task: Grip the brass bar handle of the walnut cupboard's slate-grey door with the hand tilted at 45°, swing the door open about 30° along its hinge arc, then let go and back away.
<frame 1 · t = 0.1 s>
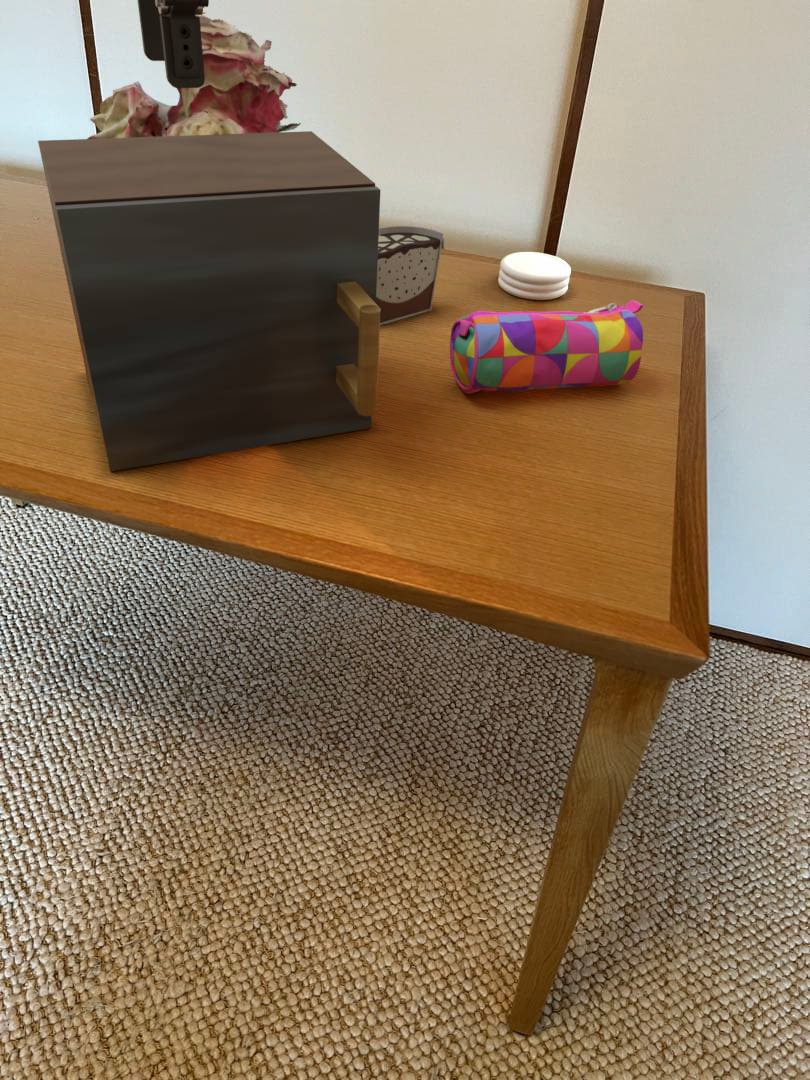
hand: (173, 72, 53), 34 cm above the table, tool pointing down, fingers open, 8 cm apart
food container: (389, 311, 108), on the table
rose bouquet: (215, 260, 118), on the table
cupboard: (223, 400, 87), on the table
door: (247, 351, 70), point 12 cm above the table, hinge at 0.0°
pencil case: (540, 384, 95), on the table
white stacked discs: (532, 288, 117), on the table
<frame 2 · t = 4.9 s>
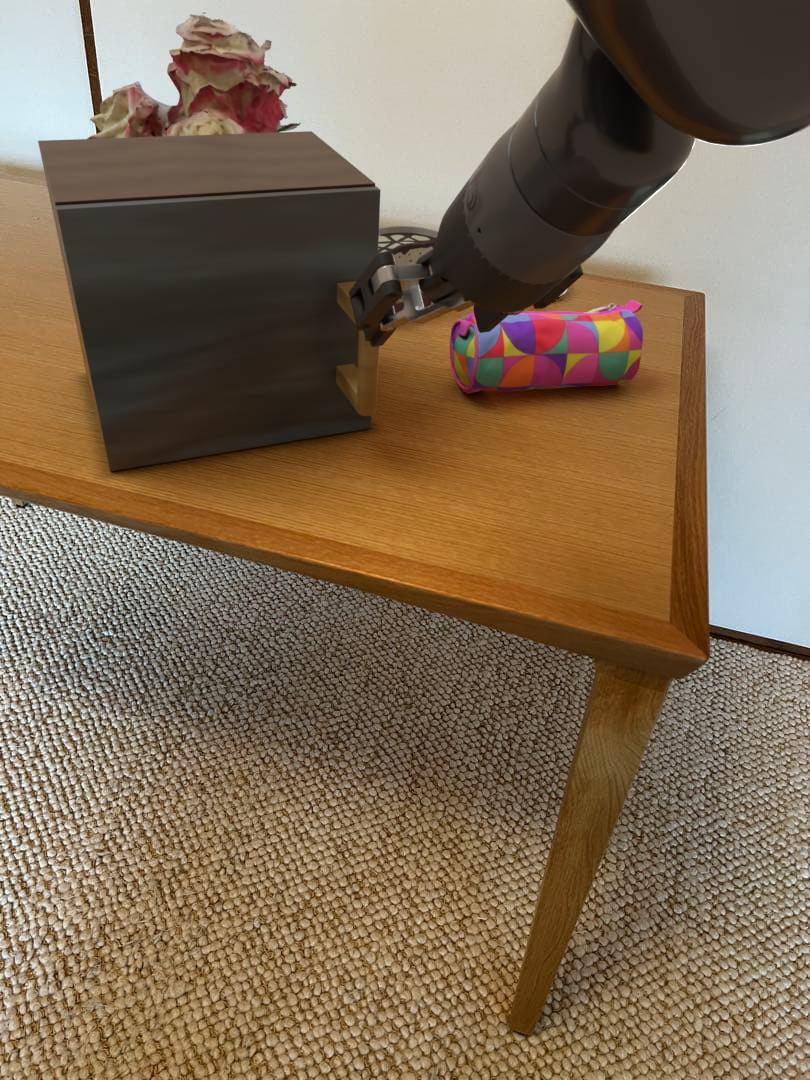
hand: (427, 326, 59), 20 cm above the table, tool tilted 45°, fingers open, 8 cm apart
nothing on the table moved.
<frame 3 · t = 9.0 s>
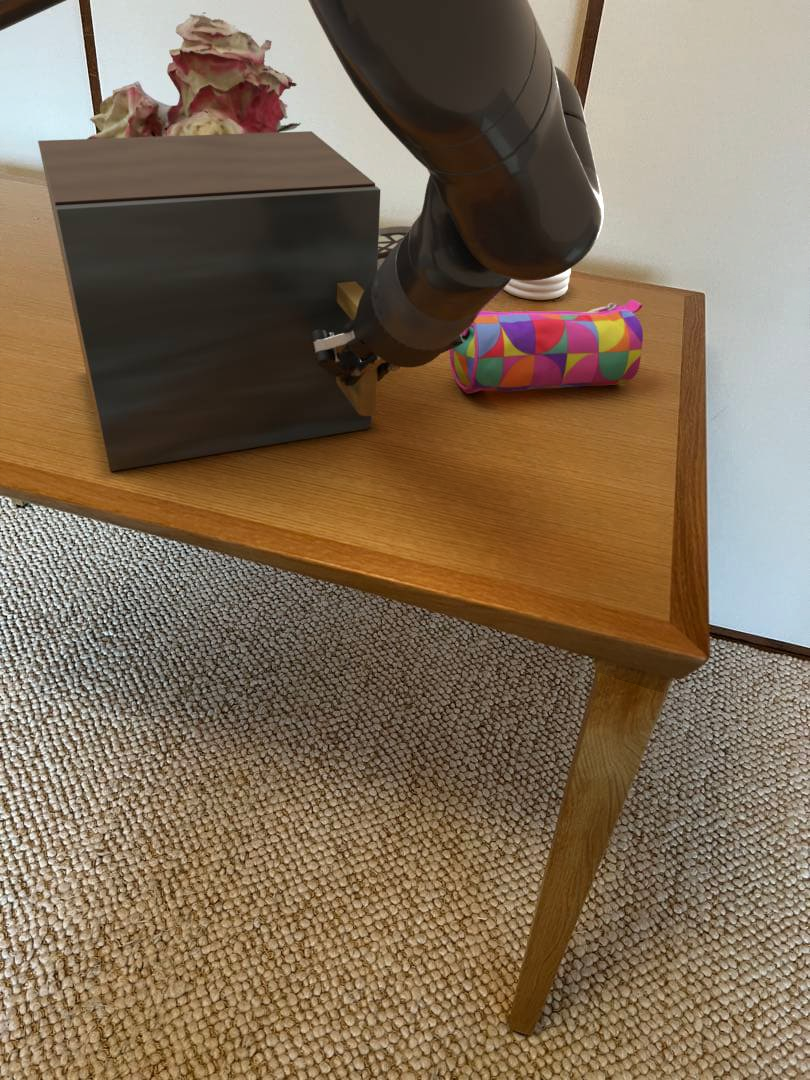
hand: (359, 373, 75), 9 cm above the table, tool tilted 45°, fingers closed on door, 2 cm apart
door: (247, 351, 70), point 12 cm above the table, hinge at 0.0°, touching gripper
everything else where it was.
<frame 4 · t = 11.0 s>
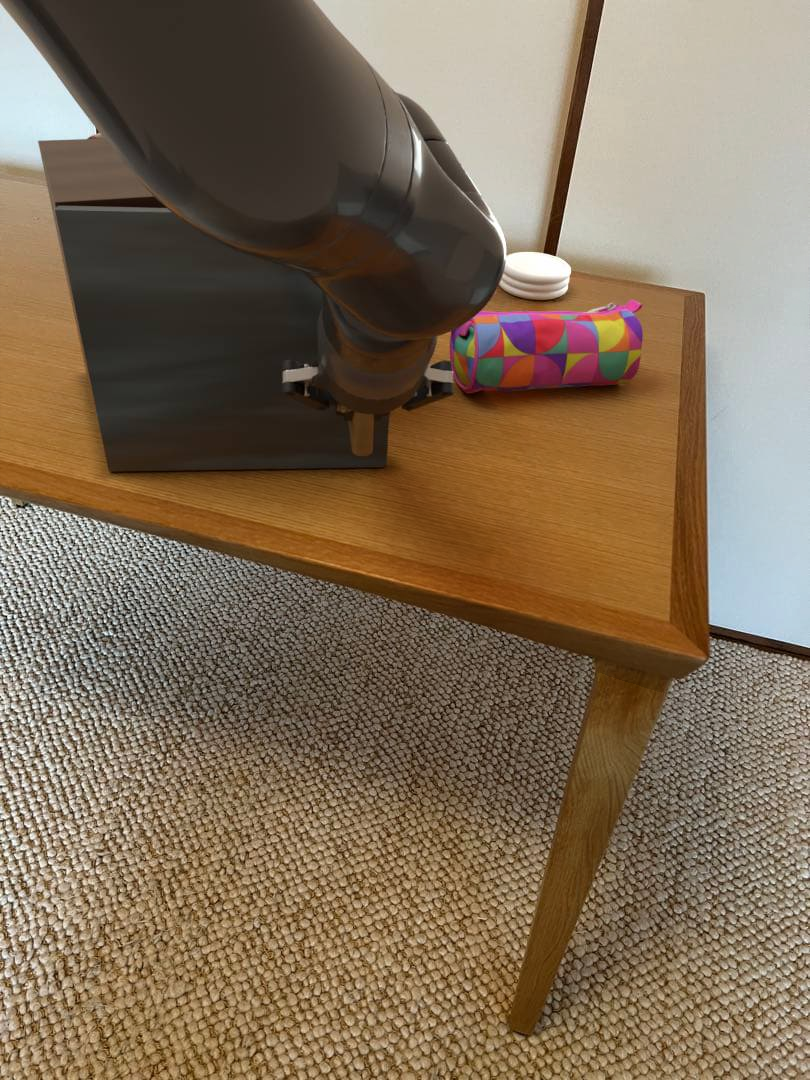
hand: (362, 409, 70), 9 cm above the table, tool tilted 45°, fingers closed on door, 2 cm apart
door: (241, 371, 67), point 12 cm above the table, hinge at 16.0°, touching gripper
everything else where it was.
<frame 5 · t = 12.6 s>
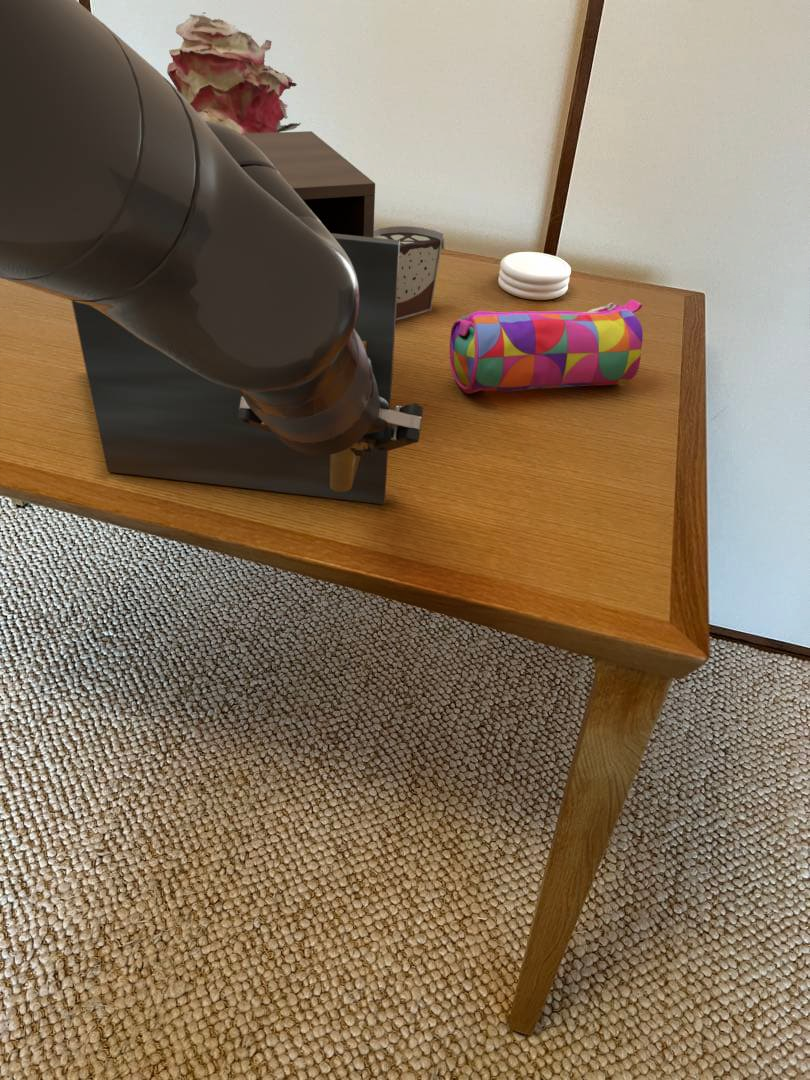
hand: (346, 441, 66), 9 cm above the table, tool tilted 45°, fingers closed on door, 2 cm apart
door: (225, 389, 65), point 12 cm above the table, hinge at 29.4°, touching gripper
everything else where it was.
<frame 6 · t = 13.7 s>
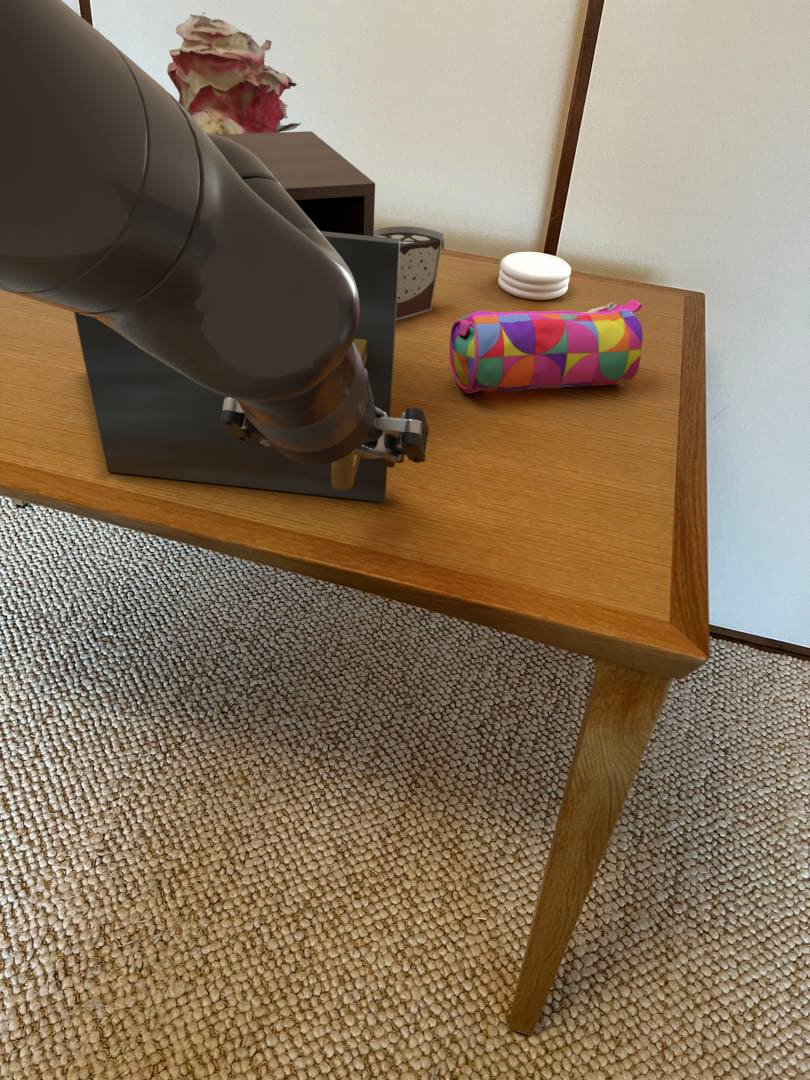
hand: (339, 448, 65), 9 cm above the table, tool tilted 45°, fingers open, 8 cm apart
door: (226, 388, 65), point 12 cm above the table, hinge at 28.7°
everything else where it was.
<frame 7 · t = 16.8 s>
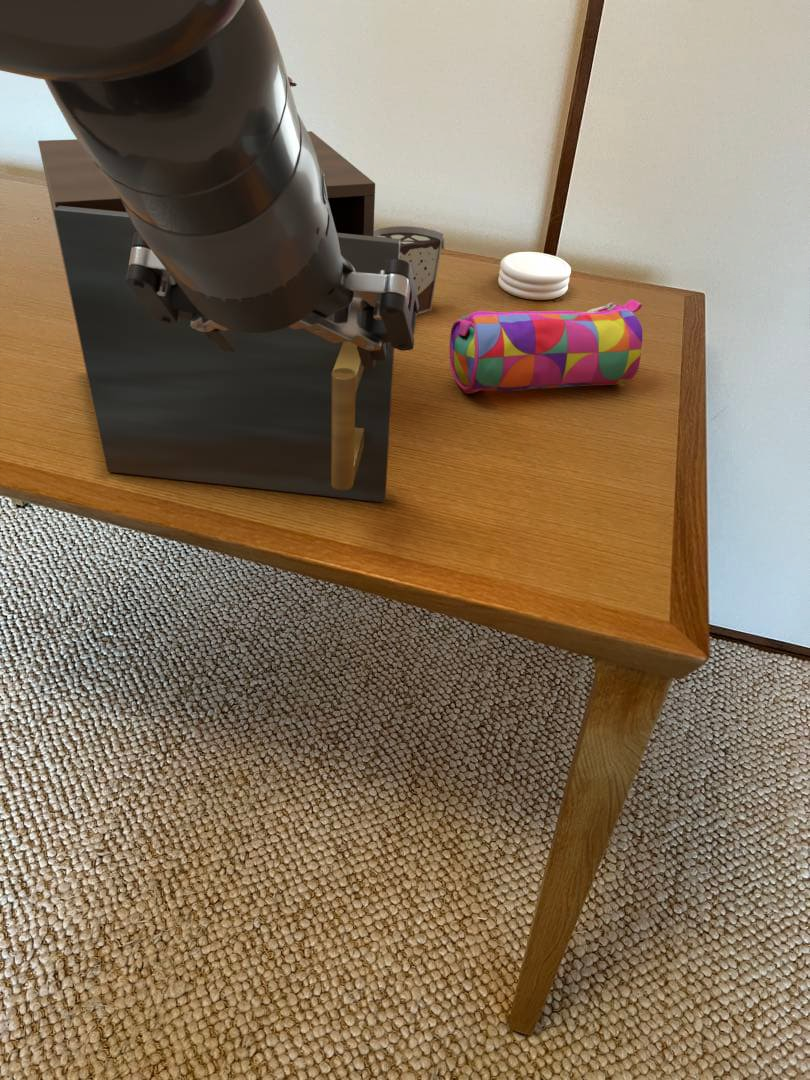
hand: (301, 343, 49), 22 cm above the table, tool tilted 45°, fingers open, 8 cm apart
nothing on the table moved.
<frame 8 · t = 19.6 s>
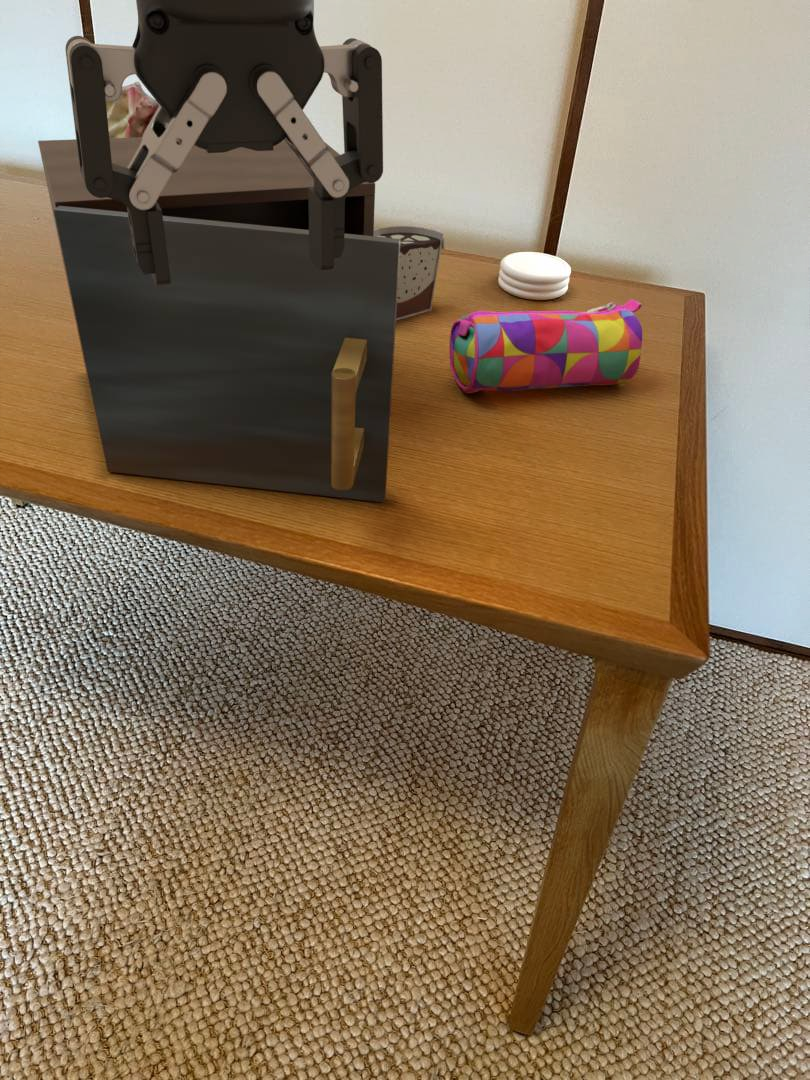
hand: (244, 271, 43), 28 cm above the table, tool pointing down, fingers open, 8 cm apart
nothing on the table moved.
at the end: door at +29° (first picture: +0°); the gripper is holding nothing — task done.
